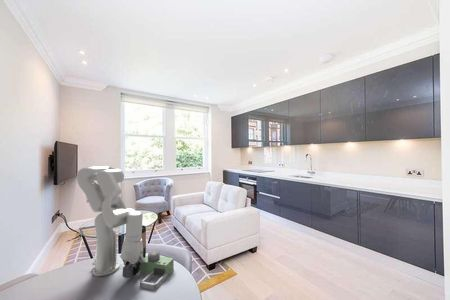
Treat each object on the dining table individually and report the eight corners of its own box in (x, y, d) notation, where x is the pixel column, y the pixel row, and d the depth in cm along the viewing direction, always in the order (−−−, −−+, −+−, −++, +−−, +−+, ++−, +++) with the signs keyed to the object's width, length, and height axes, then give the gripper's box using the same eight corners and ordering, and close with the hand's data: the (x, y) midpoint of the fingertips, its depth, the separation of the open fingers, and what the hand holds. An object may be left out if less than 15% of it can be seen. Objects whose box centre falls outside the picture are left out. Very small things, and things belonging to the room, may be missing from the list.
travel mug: (140, 266, 106) (140, 230, 107) (128, 265, 107) (129, 229, 108) (148, 259, 113) (148, 225, 114) (137, 258, 115) (137, 225, 116)
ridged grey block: (122, 276, 92) (123, 266, 93) (133, 268, 99) (133, 258, 99) (129, 278, 91) (130, 268, 91) (140, 270, 98) (140, 260, 98)
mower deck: (126, 283, 91) (126, 265, 91) (148, 265, 107) (148, 249, 107) (155, 289, 87) (155, 269, 87) (173, 269, 102) (173, 252, 103)
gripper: (114, 237, 94) (112, 273, 94) (142, 243, 90) (140, 281, 89) (125, 231, 101) (123, 265, 101) (152, 236, 97) (150, 272, 96)
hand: (131, 272), depth 95 cm, fingers closed on ridged grey block, 4 cm apart
